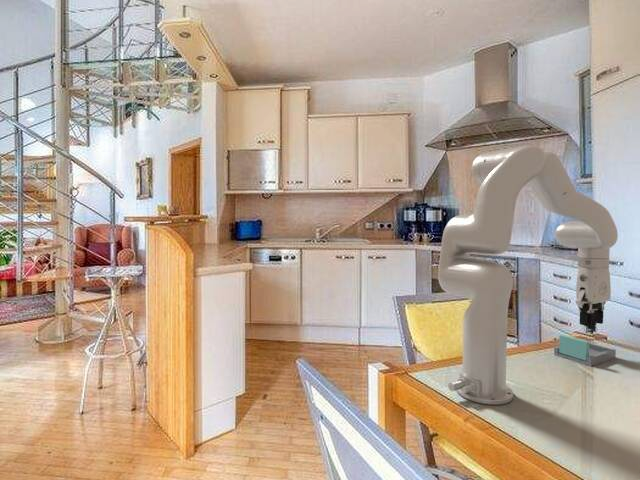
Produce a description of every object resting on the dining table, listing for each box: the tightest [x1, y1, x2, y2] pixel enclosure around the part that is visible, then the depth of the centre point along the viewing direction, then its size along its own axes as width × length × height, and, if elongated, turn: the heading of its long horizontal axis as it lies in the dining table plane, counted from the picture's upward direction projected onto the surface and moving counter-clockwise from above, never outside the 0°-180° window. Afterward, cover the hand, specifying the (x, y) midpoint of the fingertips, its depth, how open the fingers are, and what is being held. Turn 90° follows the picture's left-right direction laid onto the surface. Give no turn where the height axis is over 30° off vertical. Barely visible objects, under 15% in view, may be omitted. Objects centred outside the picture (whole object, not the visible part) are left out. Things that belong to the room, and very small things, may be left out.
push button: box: [584, 299, 602, 335], centre depth 113 cm, size 7×5×10 cm
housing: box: [553, 342, 617, 367], centre depth 113 cm, size 13×10×2 cm
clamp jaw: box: [558, 334, 590, 361], centre depth 110 cm, size 2×7×5 cm, turn 27°
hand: (591, 323), depth 113 cm, fingers closed on push button, 4 cm apart
